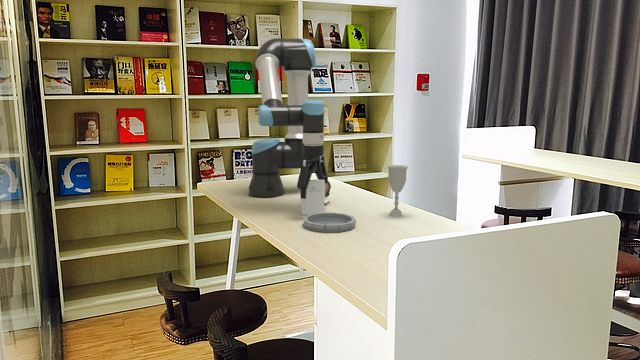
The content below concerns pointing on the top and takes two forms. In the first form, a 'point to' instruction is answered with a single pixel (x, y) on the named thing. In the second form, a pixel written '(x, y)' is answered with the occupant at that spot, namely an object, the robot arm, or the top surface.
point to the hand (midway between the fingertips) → (313, 203)
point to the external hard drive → (315, 197)
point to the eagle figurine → (327, 191)
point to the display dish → (329, 222)
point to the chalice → (396, 185)
